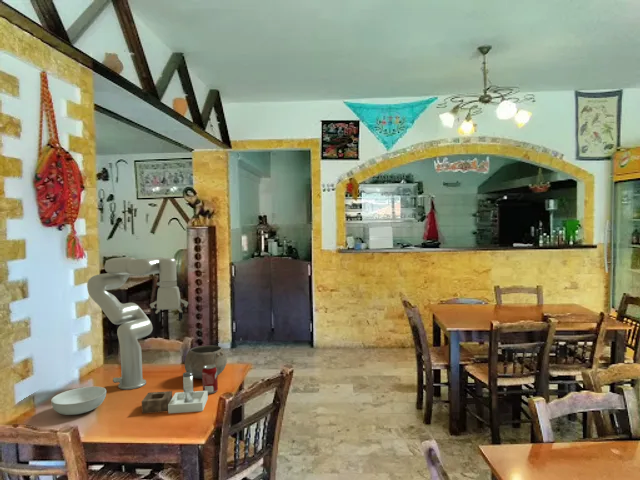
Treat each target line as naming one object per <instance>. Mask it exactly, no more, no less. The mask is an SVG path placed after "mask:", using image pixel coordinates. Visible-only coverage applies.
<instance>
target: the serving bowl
mask: <svg viewBox="0 0 640 480" xmlns="http://www.w3.org/2000/svg"><path fill="white" fill-rule="evenodd" d="M106 396H107V389H106V388H105V387H102V386H84V387H83V386H82V387H78V388H73V389H70V390H66V391H63V392H61V393H60V392H59V393H58V394H56V395H55V396H53V397H52V398H51V399H50V402H51V406H52V409H53V410H54V411H55V412H56V413H58V414H61V415H66V416H71V415H72V416H73V415H75V416H76V415H82V414H85V413H88V412H90V411H92V410H95V409H96V408H98V407H100V406H101V405H102V403H103V402H104V401H105V398H106Z"/></svg>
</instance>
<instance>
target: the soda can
mask: <svg viewBox="0 0 640 480" xmlns="http://www.w3.org/2000/svg"><path fill="white" fill-rule="evenodd" d="M201 380H202V391H208V395H211V394H214V393H216V392H218V390H219V387H218V384H219V383H218V376H217V368H216V366H215V365H205V366H204V367H203V370H202V379H201Z"/></svg>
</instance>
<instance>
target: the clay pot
mask: <svg viewBox="0 0 640 480" xmlns="http://www.w3.org/2000/svg"><path fill="white" fill-rule="evenodd" d="M227 360H228V358H227V354H226V352H225V350H224V349H223V347H222V346H219V345H203V346H202V345H201V346H196V347H192V348H191V349H189V350H188V352H187V354H186V356H185V360H184V368H185V369H184V370H185V372H193V379H199V380H200V379H201V380H202V370H203V367H204V366H205V365H215V366H216V368H217V377H218V376H219V375H220V374H222V373H223V372H224V370H225V368H226V366H227V362H228V361H227Z"/></svg>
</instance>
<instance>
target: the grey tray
mask: <svg viewBox="0 0 640 480" xmlns="http://www.w3.org/2000/svg"><path fill="white" fill-rule="evenodd" d="M208 395H209V394H208V391H203V390H197V391H196V390H195V391H194V390H193V397H194V402H190V403H184V391H183V392H175V393H174V394H173V395H172V399H171V401H170V402H169V404H168V411H167V413H168V414H179V413H194V412H195V413H196V412H203V411H204V409H205V407H206V404H207V402H208V399H209V396H208Z"/></svg>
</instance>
